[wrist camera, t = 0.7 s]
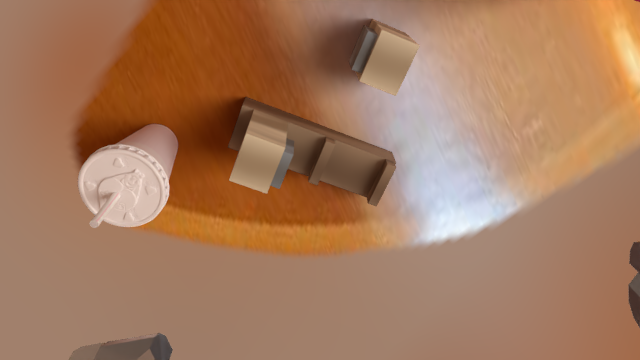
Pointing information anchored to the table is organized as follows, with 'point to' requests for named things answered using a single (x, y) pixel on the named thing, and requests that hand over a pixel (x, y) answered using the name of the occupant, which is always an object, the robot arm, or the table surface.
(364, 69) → the grey-banded wooden block
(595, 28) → the table surface
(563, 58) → the table surface
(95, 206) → the smoothie
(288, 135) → the rail
